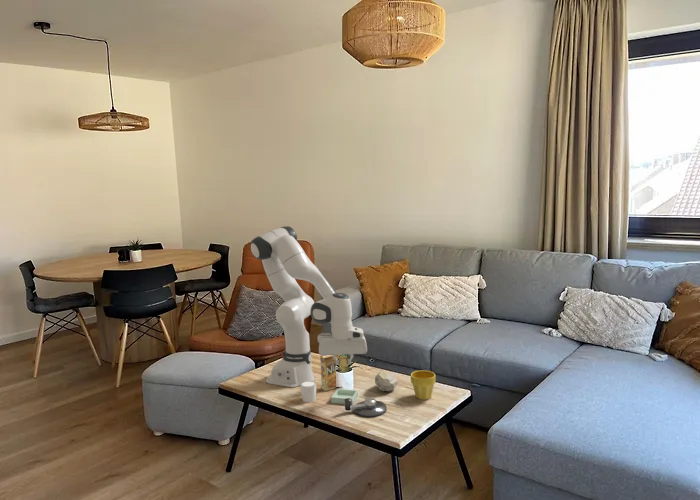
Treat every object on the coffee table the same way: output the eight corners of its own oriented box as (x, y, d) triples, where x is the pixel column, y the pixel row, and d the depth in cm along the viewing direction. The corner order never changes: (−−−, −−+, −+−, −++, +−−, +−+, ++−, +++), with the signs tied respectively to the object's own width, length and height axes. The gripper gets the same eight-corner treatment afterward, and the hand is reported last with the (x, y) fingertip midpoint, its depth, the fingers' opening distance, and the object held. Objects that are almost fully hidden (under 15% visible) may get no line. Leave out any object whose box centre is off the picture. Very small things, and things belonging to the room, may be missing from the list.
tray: (331, 402, 219) (331, 397, 218) (337, 394, 227) (337, 388, 227) (352, 404, 216) (352, 399, 216) (358, 395, 225) (357, 390, 225)
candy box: (325, 391, 231) (324, 358, 229) (321, 388, 234) (319, 355, 232) (343, 387, 235) (341, 354, 233) (338, 384, 239) (337, 351, 237)
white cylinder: (317, 395, 226) (316, 380, 226) (316, 402, 220) (316, 386, 219) (301, 396, 226) (300, 381, 225) (300, 403, 219) (299, 387, 219)
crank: (374, 403, 213) (374, 394, 212) (376, 408, 209) (376, 398, 208) (344, 407, 211) (343, 397, 210) (346, 412, 207) (345, 402, 206)
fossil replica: (394, 383, 238) (373, 387, 236) (392, 365, 237) (371, 369, 236) (401, 391, 226) (379, 396, 224) (399, 372, 225) (376, 377, 224)
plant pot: (414, 390, 228) (414, 368, 227) (438, 393, 225) (437, 371, 223) (408, 399, 219) (407, 377, 218) (432, 402, 215) (432, 380, 214)
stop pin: (338, 372, 219) (337, 358, 218) (340, 369, 222) (340, 355, 222) (346, 372, 218) (346, 358, 217) (349, 369, 221) (348, 355, 221)
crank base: (350, 415, 206) (350, 412, 206) (358, 401, 219) (358, 398, 218) (382, 418, 203) (382, 415, 203) (389, 404, 215) (389, 401, 215)
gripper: (316, 335, 215) (318, 367, 217) (366, 333, 215) (367, 365, 216) (317, 330, 221) (319, 362, 223) (366, 329, 221) (367, 360, 223)
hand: (343, 364), depth 220 cm, fingers closed on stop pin, 4 cm apart
